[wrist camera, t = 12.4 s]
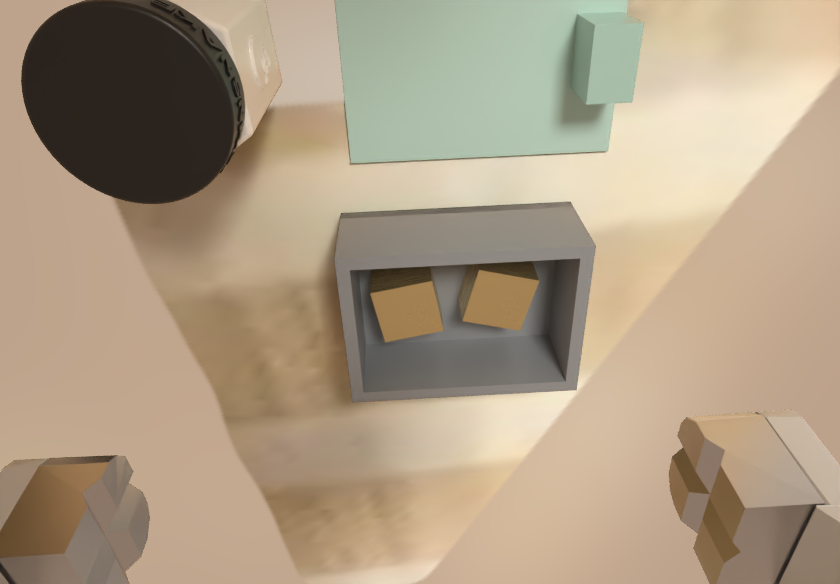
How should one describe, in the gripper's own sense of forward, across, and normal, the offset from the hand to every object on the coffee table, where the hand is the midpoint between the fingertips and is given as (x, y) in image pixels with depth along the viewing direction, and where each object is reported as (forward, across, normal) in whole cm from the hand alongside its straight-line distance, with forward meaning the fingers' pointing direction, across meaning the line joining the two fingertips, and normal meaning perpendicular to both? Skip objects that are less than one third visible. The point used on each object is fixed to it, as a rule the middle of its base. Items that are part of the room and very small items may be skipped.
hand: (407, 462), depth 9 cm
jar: (+31, +11, 0) cm, 32 cm away
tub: (+30, -3, +16) cm, 35 cm away
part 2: (+30, -6, +16) cm, 34 cm away
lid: (+31, -5, +1) cm, 32 cm away
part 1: (+30, 0, +16) cm, 34 cm away
